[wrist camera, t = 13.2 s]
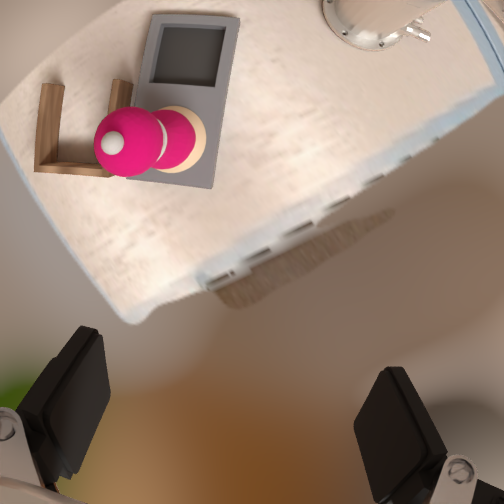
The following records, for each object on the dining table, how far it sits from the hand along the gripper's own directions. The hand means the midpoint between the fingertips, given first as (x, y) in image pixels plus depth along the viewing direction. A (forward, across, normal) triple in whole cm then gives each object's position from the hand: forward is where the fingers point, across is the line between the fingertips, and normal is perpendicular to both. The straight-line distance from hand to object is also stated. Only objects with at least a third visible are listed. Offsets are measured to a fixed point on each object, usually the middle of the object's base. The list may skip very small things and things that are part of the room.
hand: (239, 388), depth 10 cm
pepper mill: (+34, +11, -6) cm, 36 cm away
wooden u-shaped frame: (+36, +25, -7) cm, 45 cm away
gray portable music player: (+36, +11, -12) cm, 40 cm away
